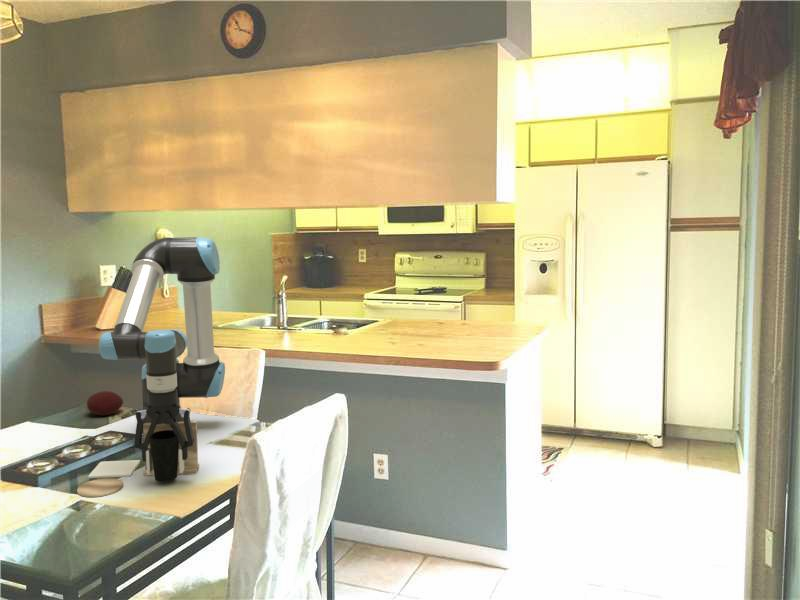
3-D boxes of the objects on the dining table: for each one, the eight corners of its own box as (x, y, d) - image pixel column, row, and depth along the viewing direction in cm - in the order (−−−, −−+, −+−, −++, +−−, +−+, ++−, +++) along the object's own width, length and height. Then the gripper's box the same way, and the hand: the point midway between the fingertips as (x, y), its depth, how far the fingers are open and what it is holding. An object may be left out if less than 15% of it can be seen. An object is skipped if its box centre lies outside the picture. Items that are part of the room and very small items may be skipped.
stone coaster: (100, 463, 189) (100, 461, 189) (140, 461, 190) (140, 459, 190) (88, 478, 178) (87, 476, 178) (130, 476, 180) (130, 474, 180)
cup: (171, 484, 171) (169, 440, 170) (145, 482, 173) (142, 438, 171) (186, 473, 179) (184, 431, 177) (161, 471, 180) (159, 429, 179)
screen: (148, 469, 185) (146, 421, 183) (199, 466, 187) (197, 419, 185) (143, 475, 180) (141, 426, 178) (196, 473, 182) (194, 424, 180)
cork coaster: (85, 481, 176) (85, 479, 176) (128, 479, 178) (128, 477, 178) (71, 498, 165) (70, 496, 165) (116, 496, 167) (116, 493, 167)
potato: (80, 417, 232) (79, 394, 231) (99, 408, 243) (98, 387, 242) (110, 419, 230) (108, 396, 229) (128, 410, 241) (127, 388, 240)
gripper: (117, 394, 167) (121, 479, 171) (200, 391, 170) (203, 475, 173) (125, 386, 175) (129, 468, 178) (204, 384, 178) (207, 464, 181)
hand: (165, 471), depth 176 cm, fingers closed on cup, 8 cm apart
